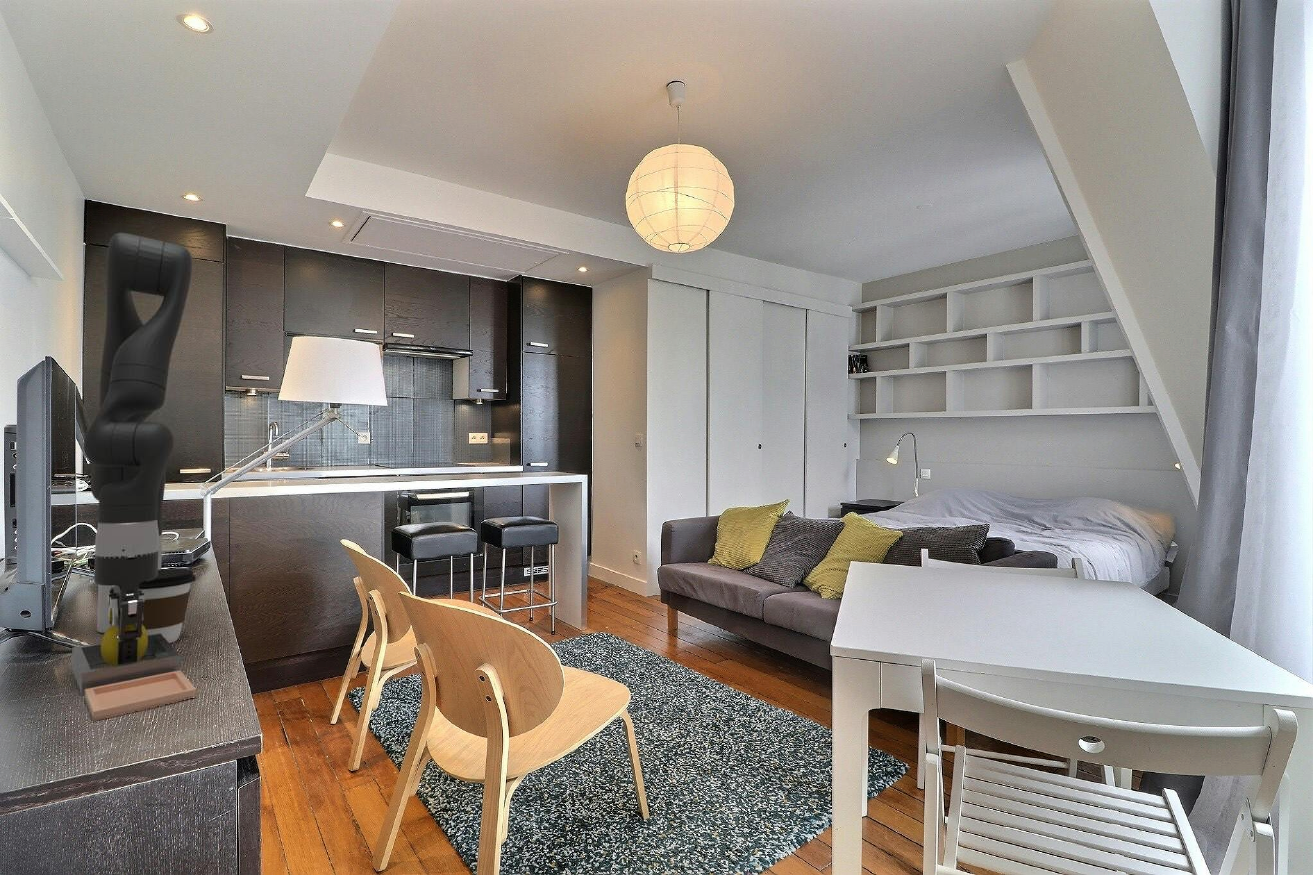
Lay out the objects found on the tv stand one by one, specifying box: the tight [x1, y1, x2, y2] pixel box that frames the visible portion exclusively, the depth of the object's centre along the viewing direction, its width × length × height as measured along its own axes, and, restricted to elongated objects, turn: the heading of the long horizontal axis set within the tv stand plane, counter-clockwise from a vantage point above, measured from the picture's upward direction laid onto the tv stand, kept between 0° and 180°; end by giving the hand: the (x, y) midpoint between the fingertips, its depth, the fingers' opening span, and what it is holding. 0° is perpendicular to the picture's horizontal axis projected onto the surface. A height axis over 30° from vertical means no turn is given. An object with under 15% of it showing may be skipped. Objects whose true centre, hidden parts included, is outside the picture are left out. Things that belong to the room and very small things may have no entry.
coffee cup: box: [139, 568, 197, 644], centre depth 112 cm, size 11×11×12 cm
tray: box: [84, 670, 197, 722], centre depth 86 cm, size 11×11×1 cm
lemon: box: [100, 625, 148, 666], centre depth 97 cm, size 6×6×8 cm
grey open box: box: [71, 633, 181, 696], centre depth 97 cm, size 16×11×3 cm
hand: (124, 659), depth 97 cm, fingers closed on lemon, 5 cm apart
